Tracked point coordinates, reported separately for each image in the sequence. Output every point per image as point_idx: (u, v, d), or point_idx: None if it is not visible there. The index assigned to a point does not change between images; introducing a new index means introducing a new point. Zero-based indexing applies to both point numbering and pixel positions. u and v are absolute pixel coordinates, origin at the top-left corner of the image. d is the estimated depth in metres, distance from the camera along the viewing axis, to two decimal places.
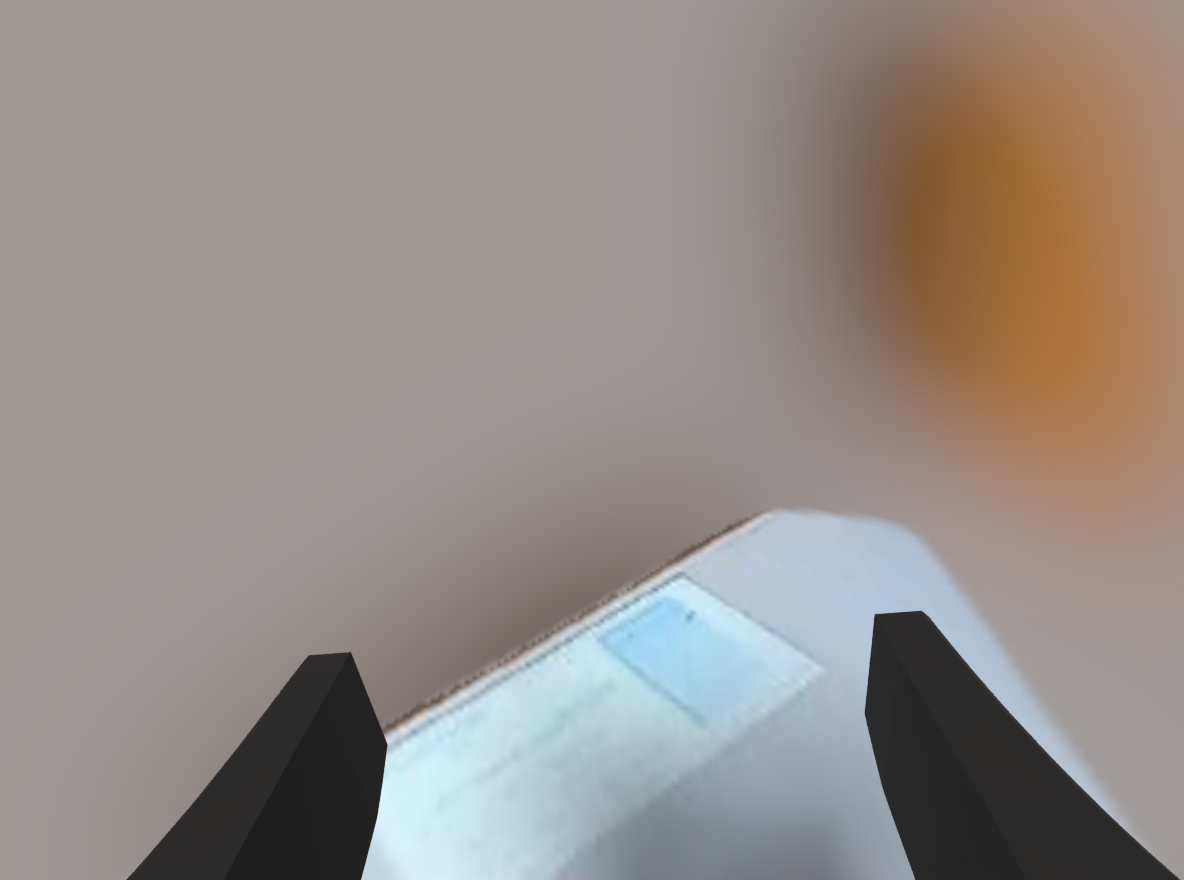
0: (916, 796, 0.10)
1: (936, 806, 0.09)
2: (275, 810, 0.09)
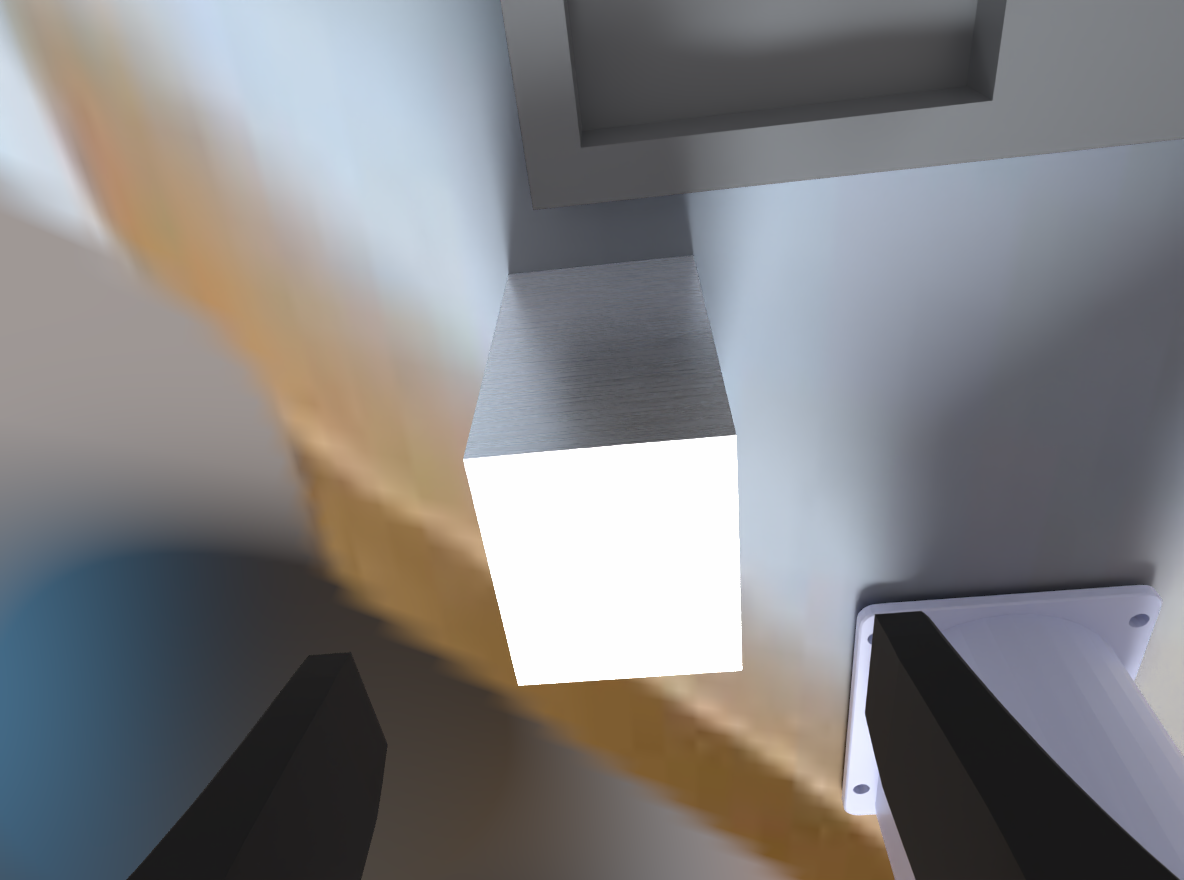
0: (916, 796, 0.10)
1: (936, 806, 0.09)
2: (275, 810, 0.09)
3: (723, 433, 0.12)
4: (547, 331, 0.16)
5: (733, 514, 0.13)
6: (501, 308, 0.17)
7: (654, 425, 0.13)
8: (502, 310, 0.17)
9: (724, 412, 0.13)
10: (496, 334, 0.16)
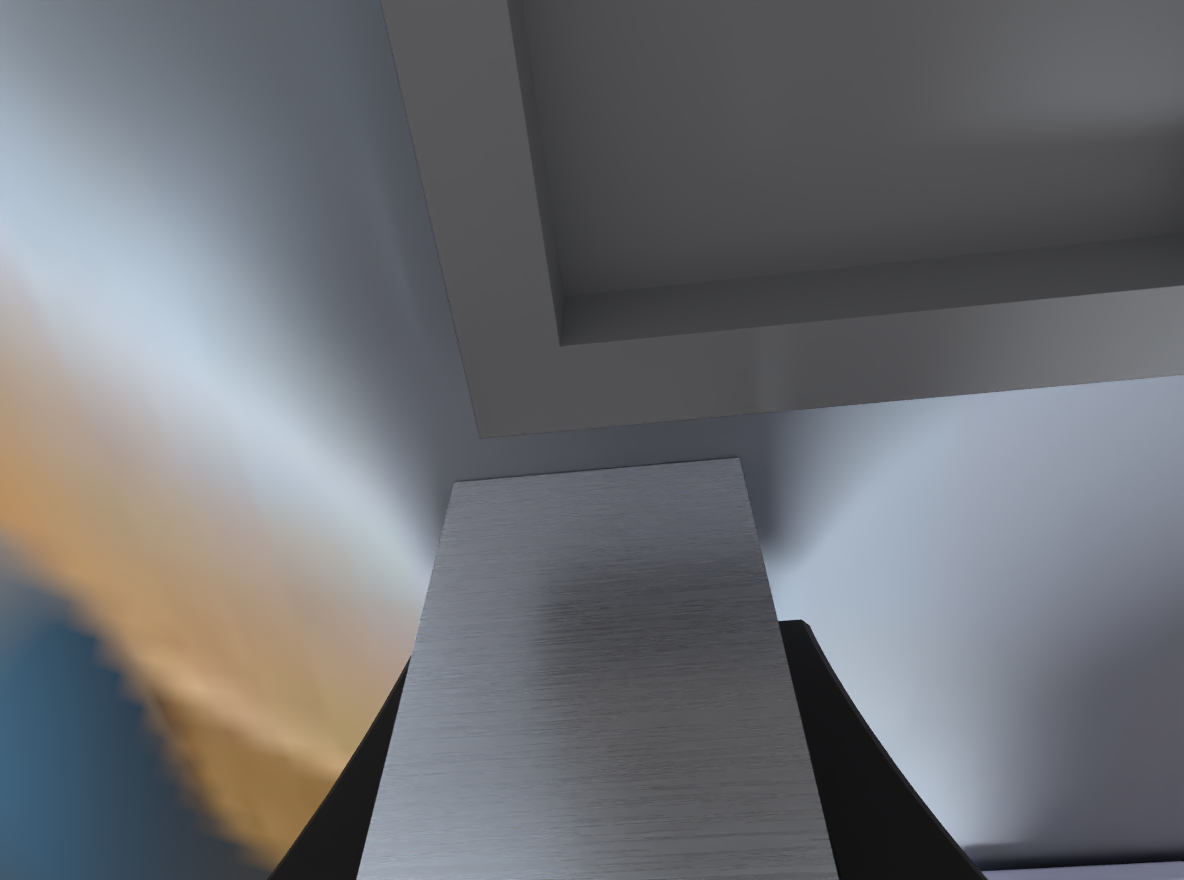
0: None
1: None
2: None
3: None
4: (504, 636, 0.09)
5: None
6: (435, 567, 0.10)
7: None
8: (436, 572, 0.10)
9: None
10: (420, 638, 0.09)
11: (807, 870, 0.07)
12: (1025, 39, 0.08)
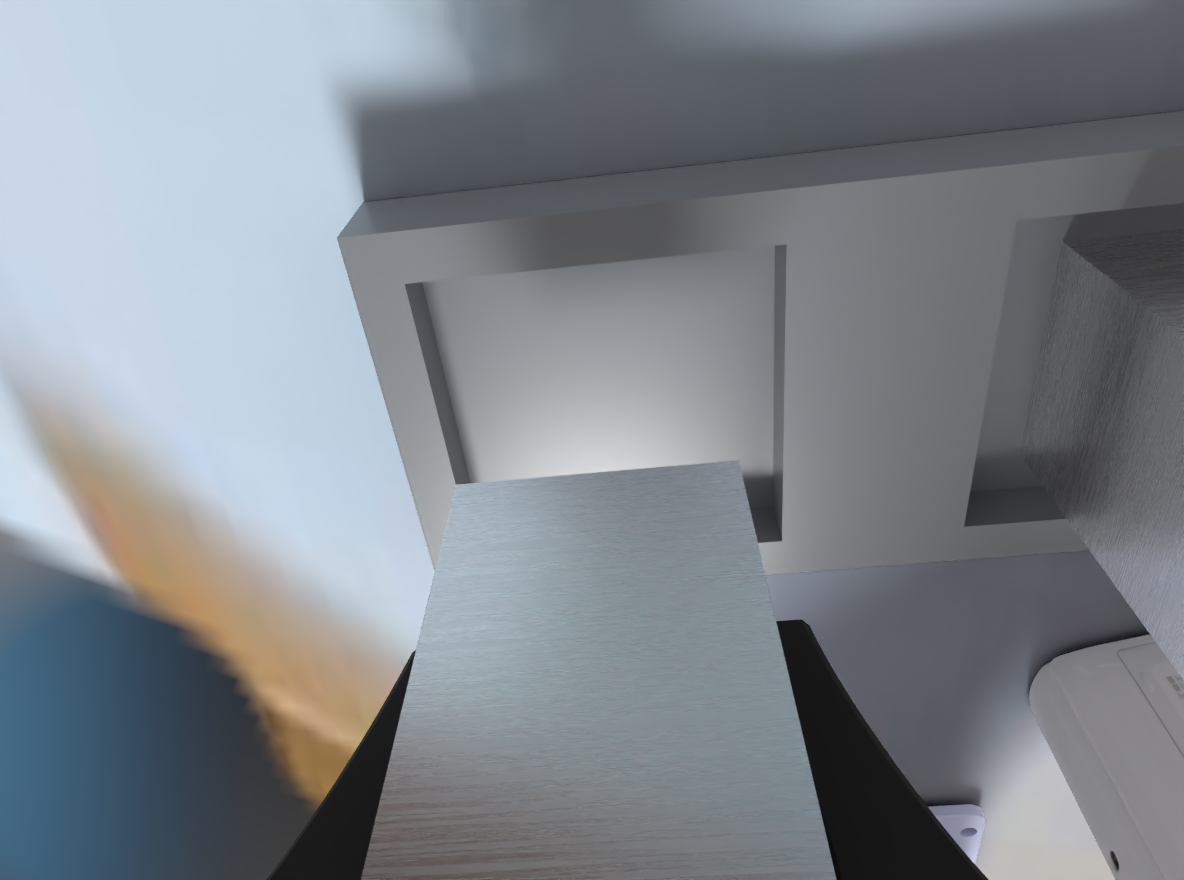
0: None
1: None
2: None
3: None
4: (506, 638, 0.09)
5: None
6: (437, 569, 0.10)
7: None
8: (438, 574, 0.10)
9: None
10: (423, 639, 0.09)
11: (805, 870, 0.07)
12: (667, 443, 0.19)
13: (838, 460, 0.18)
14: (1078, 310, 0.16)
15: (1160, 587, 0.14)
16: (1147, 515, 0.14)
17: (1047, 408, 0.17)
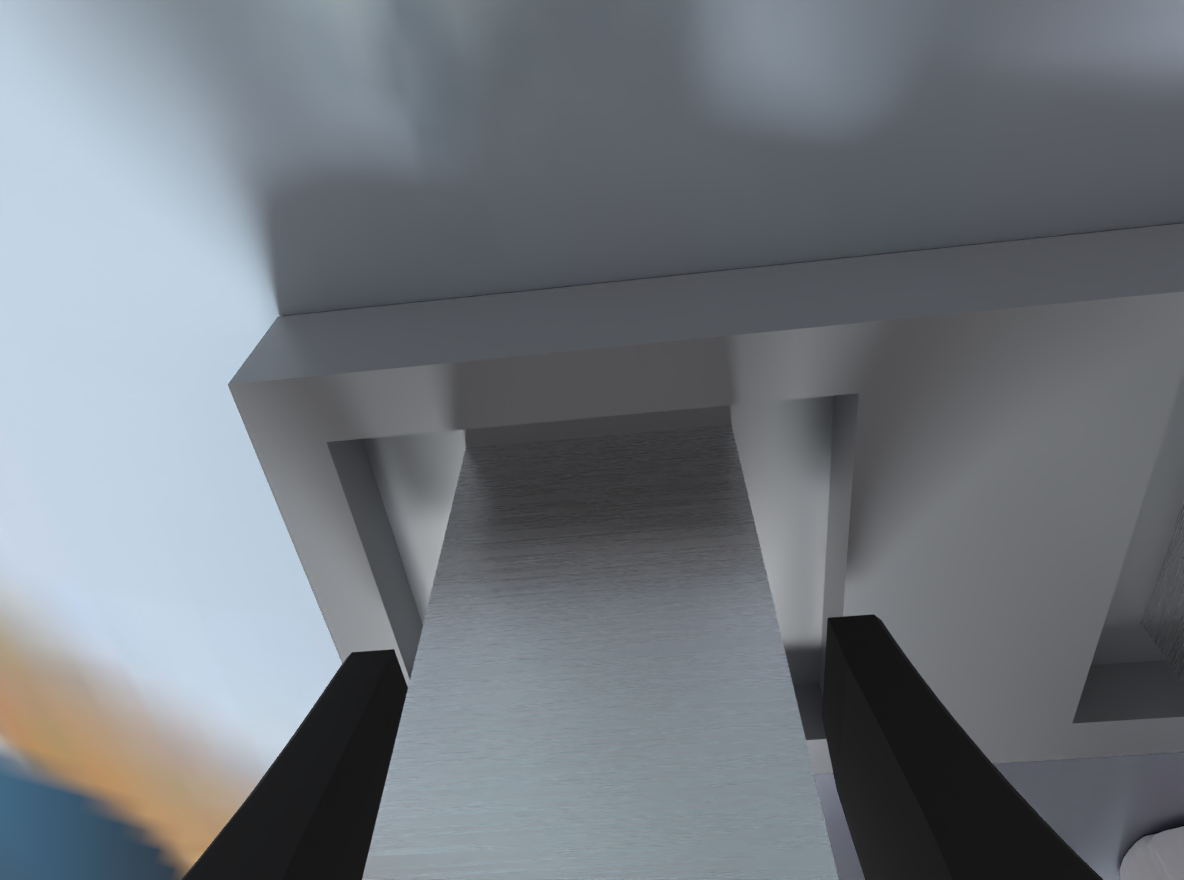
0: (864, 799, 0.10)
1: (881, 809, 0.09)
2: (329, 807, 0.09)
3: None
4: (515, 579, 0.10)
5: None
6: (449, 522, 0.11)
7: (694, 858, 0.07)
8: (451, 526, 0.11)
9: (815, 830, 0.07)
10: (437, 582, 0.10)
11: (787, 770, 0.08)
12: None
13: (913, 650, 0.13)
14: None
15: None
16: None
17: None
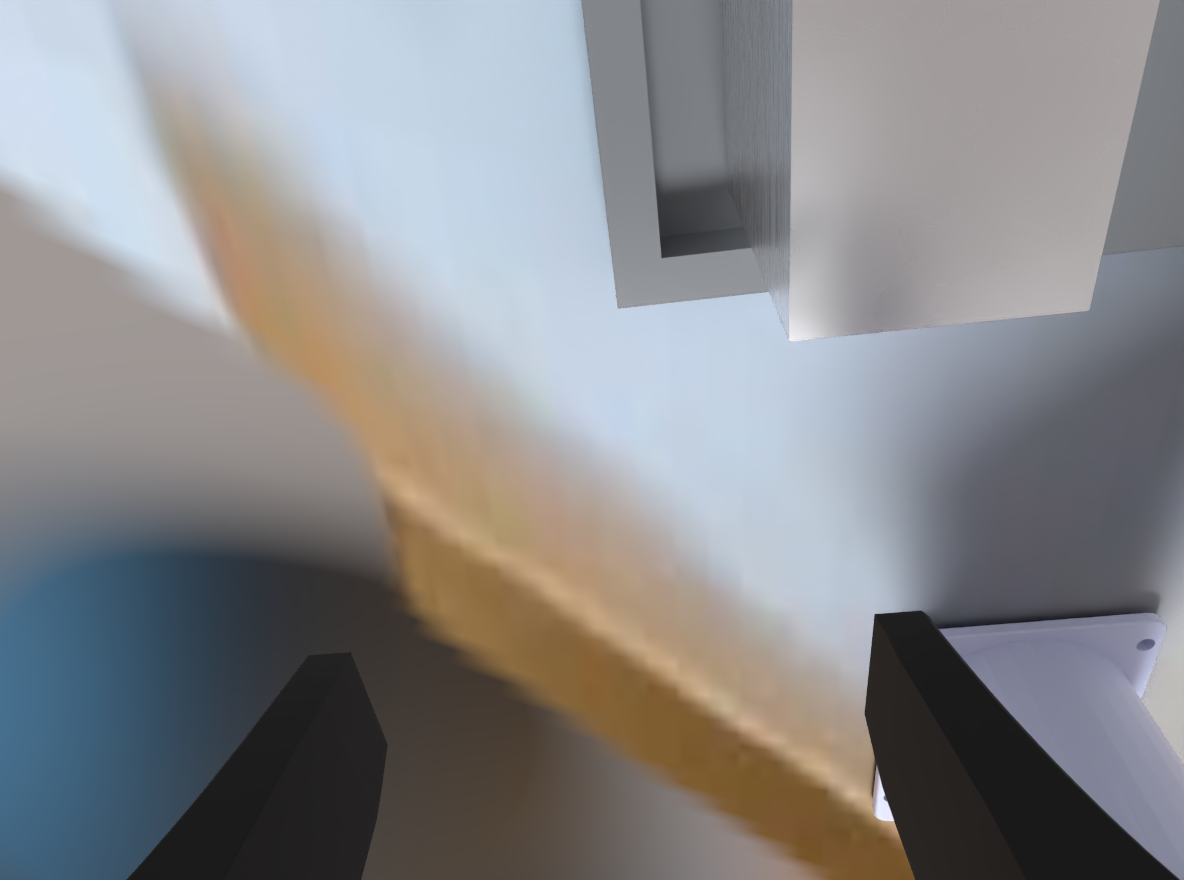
0: (916, 796, 0.10)
1: (936, 806, 0.09)
2: (275, 810, 0.09)
3: None
4: None
5: (1146, 23, 0.09)
6: None
7: None
8: None
9: None
10: None
11: None
12: None
13: None
14: None
15: None
16: None
17: None
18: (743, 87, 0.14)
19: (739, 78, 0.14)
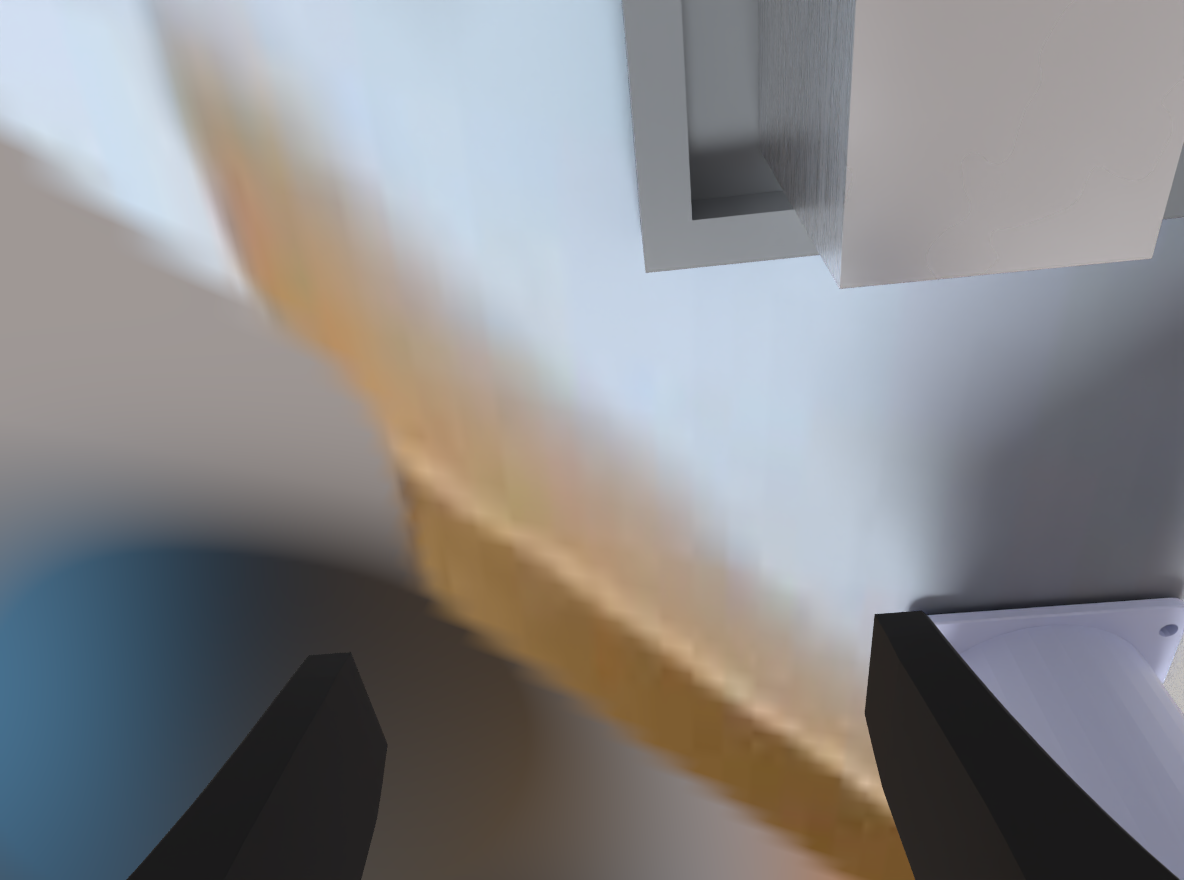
0: (916, 796, 0.10)
1: (936, 806, 0.09)
2: (275, 810, 0.09)
3: None
4: None
5: None
6: None
7: None
8: None
9: None
10: None
11: None
12: None
13: None
14: None
15: None
16: None
17: None
18: (786, 35, 0.13)
19: (781, 27, 0.14)
